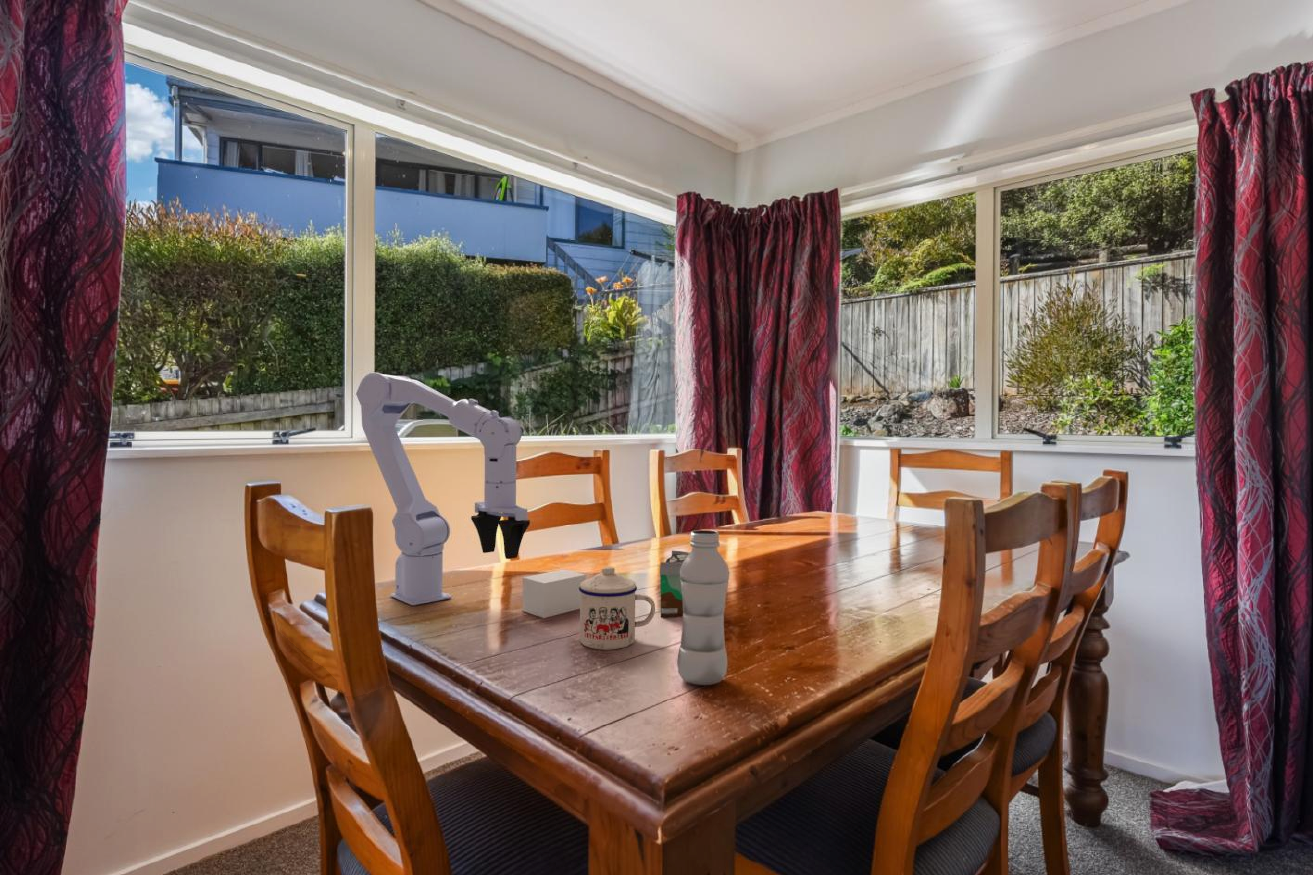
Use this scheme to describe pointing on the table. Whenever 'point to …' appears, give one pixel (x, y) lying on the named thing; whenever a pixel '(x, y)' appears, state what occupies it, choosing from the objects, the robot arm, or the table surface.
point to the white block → (552, 593)
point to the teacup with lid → (609, 611)
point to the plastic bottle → (703, 611)
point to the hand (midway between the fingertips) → (499, 555)
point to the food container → (672, 585)
